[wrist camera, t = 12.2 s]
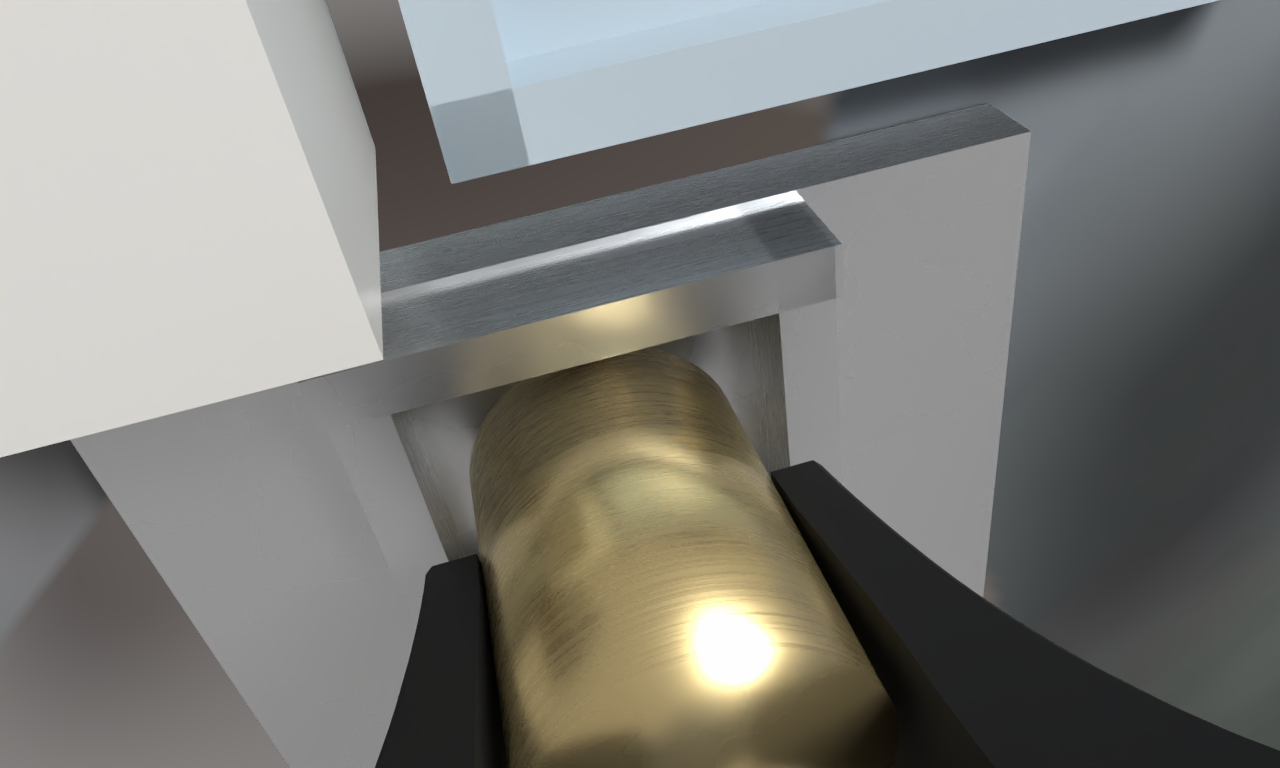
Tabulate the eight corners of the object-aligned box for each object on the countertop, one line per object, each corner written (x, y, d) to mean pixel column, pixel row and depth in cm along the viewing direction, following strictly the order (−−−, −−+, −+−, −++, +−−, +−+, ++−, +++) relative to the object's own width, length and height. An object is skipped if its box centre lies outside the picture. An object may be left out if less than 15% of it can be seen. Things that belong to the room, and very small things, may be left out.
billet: (737, 323, 13) (919, 612, 9) (736, 536, 16) (881, 851, 11) (447, 371, 13) (488, 707, 8) (489, 586, 15) (540, 942, 11)
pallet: (988, 103, 15) (1094, 173, 13) (949, 636, 23) (1010, 734, 21) (53, 331, 14) (-4, 453, 11) (355, 814, 21) (355, 939, 19)
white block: (261, -191, 11) (202, -115, 7) (375, 148, 13) (383, 359, 9) (-117, -117, 10) (-432, 16, 6) (73, 218, 13) (-65, 474, 9)
